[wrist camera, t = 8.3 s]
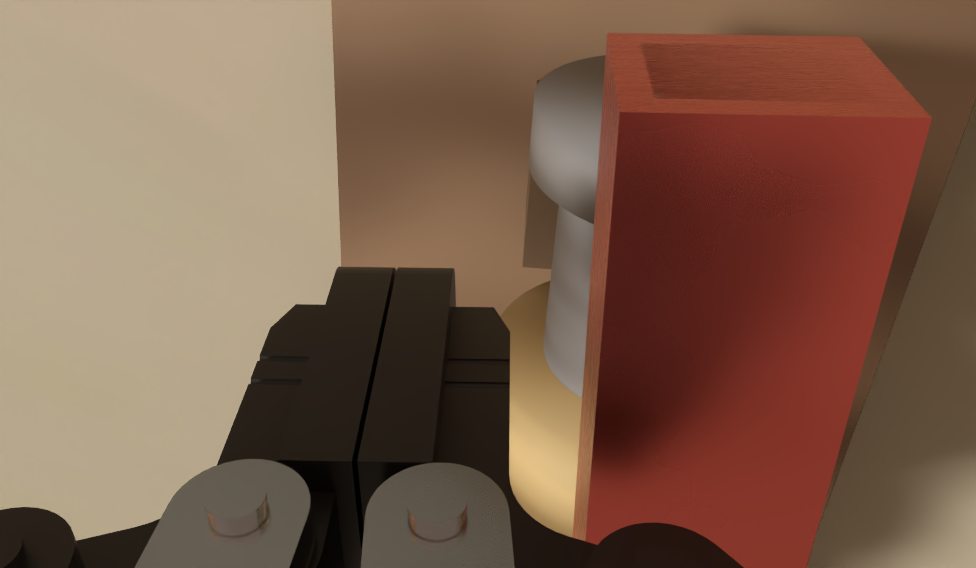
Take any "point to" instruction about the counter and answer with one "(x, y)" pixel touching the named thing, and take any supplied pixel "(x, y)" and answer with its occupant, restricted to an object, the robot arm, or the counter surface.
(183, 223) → the counter surface
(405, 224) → the valve rig
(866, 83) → the valve lever
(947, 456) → the counter surface
